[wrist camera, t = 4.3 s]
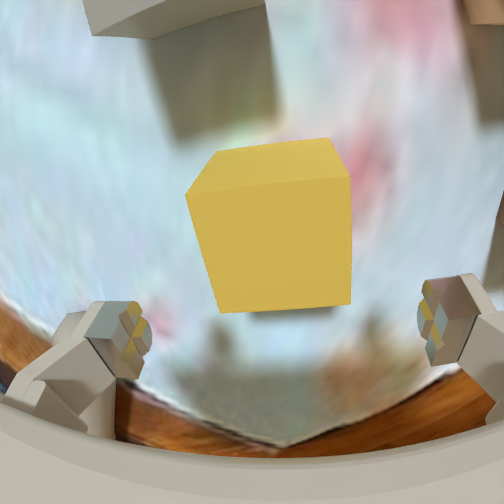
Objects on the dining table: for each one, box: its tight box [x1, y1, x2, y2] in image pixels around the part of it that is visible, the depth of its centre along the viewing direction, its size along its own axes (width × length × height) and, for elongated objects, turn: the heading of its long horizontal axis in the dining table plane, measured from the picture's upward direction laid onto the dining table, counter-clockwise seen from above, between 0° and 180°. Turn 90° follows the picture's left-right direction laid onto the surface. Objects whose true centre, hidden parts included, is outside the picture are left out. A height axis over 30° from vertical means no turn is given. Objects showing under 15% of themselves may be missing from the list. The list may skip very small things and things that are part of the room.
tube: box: [51, 311, 116, 440], centre depth 25 cm, size 5×5×25 cm
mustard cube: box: [185, 138, 352, 313], centre depth 13 cm, size 5×5×5 cm
